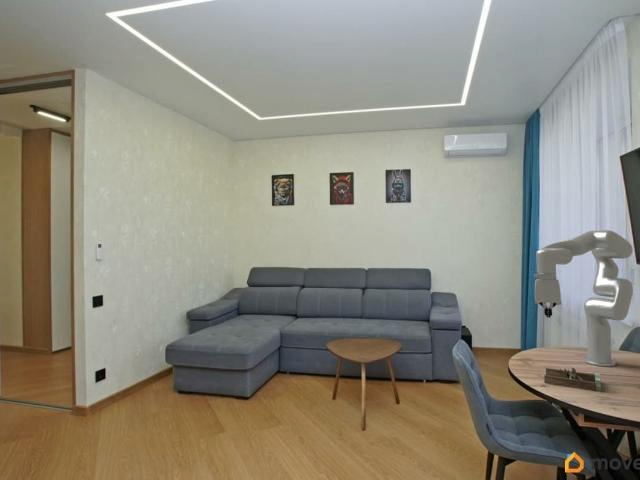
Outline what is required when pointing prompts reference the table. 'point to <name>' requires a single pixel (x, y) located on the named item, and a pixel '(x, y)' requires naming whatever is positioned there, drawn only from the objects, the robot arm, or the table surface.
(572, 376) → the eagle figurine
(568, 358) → the table surface
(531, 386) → the table surface
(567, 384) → the walnut guide
